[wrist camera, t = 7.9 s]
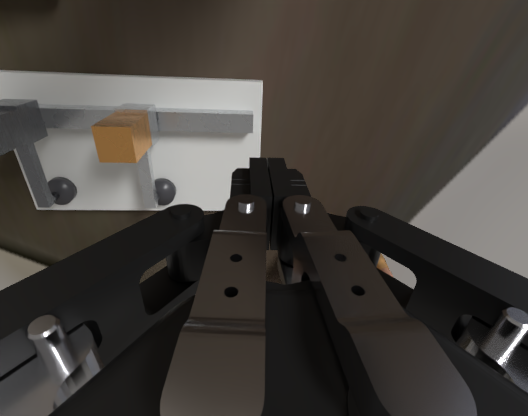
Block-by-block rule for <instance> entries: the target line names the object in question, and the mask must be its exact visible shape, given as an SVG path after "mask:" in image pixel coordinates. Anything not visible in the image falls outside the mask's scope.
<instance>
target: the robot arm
mask: <svg viewBox="0 0 528 416" xmlns="http://www.w3.org/2000/svg"><path fill="white" fill-rule="evenodd" d="M269 241H270V250H278V260H277V267H278V271H279V275H280V279H281V283H282V284H279V283H273V282H268V281H266V250H269ZM381 253H382V254H384V255H386V256H387V257H389V258H391V259H393V260H395V261H396V262H398V263H400V264H402V265H404V266H405V267H407V268H409V269H410V270H411V271H412V272H413V273H414V274H415V276H416V280H417V283H416V286H415V288H414V289H412V288H410V287H408V286H407V285H405V284H403V283H401V282H400V281H398V280H397V279H395V278H393V277H392V276H390V275H388V274H387V273H385V272H383V271H382V270H380V269H378V268H377V264H378V261H379V257H380V254H381ZM164 258H166V261H167V266H166V267H164V268H163V269H161V270H160V271H158V272H157V273H155V274H154V275H152V276H151V277H149V278H148V279H146V280H145V281H143V282H142V283H141V284H139V282H140V278H141V276H142V275H143V273H144V272H145V271H146V270H147V269H149V268H150V267H152V266H153V265H155V264H156V263H158V262H160V261H161V260H163V259H164ZM195 294H196V295H195ZM0 416H528V279H527V278H525V277H523V276H521V275H519V274H517V273H514V272H512V271H510V270H508V269H506V268H504V267H501V266H499V265H497V264H495V263H493V262H491V261H488V260H486V259H484V258H482V257H480V256H477V255H475V254H473V253H471V252H469V251H467V250H465V249H462V248H460V247H458V246H456V245H454V244H452V243H449V242H447V241H445V240H443V239H440V238H439V237H436V236H434V235H432V234H430V233H428V232H425V231H423V230H421V229H419V228H417V227H415V226H413V225H410V224H408V223H406V222H404V221H402V220H400V219H397V218H395V217H393V216H391V215H389V214H387V213H384V212H382V211H380V210H378V209H375V208H372V207H366V206H356V207H352V208H350V209H349V210H348V211H347V215H346V217H343V216H338V215H333V214H329V213H327V212H326V210H325V209H324V207H323V205H322V204H321V202H320V201H318V200H317V199H315V198H312V197H311V195H310V193H309V190H308V188H307V186H306V183H305V181H304V178H303V175H302V174H301V173H300V172H299V171H297V170H296V169H287V167H286V164H285V160H284V158H267V161H266V158H256V157H249V168H237V169H236V170H235V171H234V172H232V178H231V190H230V199H228V200H227V202H226V205H225V209H224V210H222V211H220V212H217V213H214V214H209V215H204V212H203V210H202V209H201V208H200V207H198V206H195V205H191V204H178V205H173V206H170V207H168V208H166V209H164V210H162V211H160V212H158V213H156V214H154V215H152V216H150V217H148V218H146V219H144V220H142V221H140V222H138V223H136V224H134V225H132V226H130V227H127V228H125V229H123V230H121V231H119V232H117V233H115V234H113V235H111V236H109V237H107V238H105V239H103V240H101V241H99V242H97V243H95V244H93V245H91V246H89V247H87V248H85V249H83V250H81V251H79V252H77V253H75V254H73V255H71V256H69V257H67V258H65V259H63V260H61V261H59V262H57V263H55V264H53V265H51V266H49V267H47V268H45V269H43V270H41V271H39V272H37V273H35V274H33V275H31V276H29V277H27V278H25V279H23V280H21V281H19V282H17V283H15V284H13V285H11V286H9V287H7V288H5V289H3V290H1V291H0Z"/></svg>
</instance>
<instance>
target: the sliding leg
mask: <svg viewBox="0 0 528 416" xmlns="http://www.w3.org/2000/svg"><path fill="white" fill-rule="evenodd" d="M91 129H92V133H93V138H94V142H95V146H96V150H97V154H98V158H99V162H102V163H137V165H138V171H139V177H140V182H141V188H142V193H143V199H144V205H145V208H156V207H157V205H158V200H159V198H160V195H159V194H158V193H156V187H155V180H154V174H153V167H152V161H151V154H150V147H153V146H154V145H155V144H156V143H157V142H158V140H159V132H158V124H157V117H156V109H155V104H134V103H124V104H122V105H120V106H118V107H116V108H115V109H114V113H112V114H111V115H109V116H107V117H106V118H104V119H102V120H101V121H99V122H97V123H95V124H94V125H92V126H91Z"/></svg>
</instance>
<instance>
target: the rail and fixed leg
mask: <svg viewBox="0 0 528 416" xmlns="http://www.w3.org/2000/svg"><path fill="white" fill-rule="evenodd" d="M116 107H118V106H91V105H59V104H38V102H37V100H28V99H2V100H0V156H1V155H3V154H5V153H7V152H9V151H11V150H13V149H15V148H16V150H17V153H18V156H19V158H20V161H21V164H22V166H23V169H24V171H25V174H26V177H27V179H28V182H29V184H30V187H31V190H32V192H33V195H34V197H35V200H36V203H37V205H38V207H41V208H50V207H51V206H52V205H53V204H54V202H56V201H57V200H58V199H59V198H60V195H59V194H58V193H57V192H51V191H50V188H49V186H48V183H47V180H46V177H45V174H44V171H43V168H42V165H41V163H40V160H39V157H38V154H37V151H36V148H35V145H34V143H35V142H37V141H39V140H41V139H43V138H45V137H47V136H48V133H47V130H46V128H64V129H91V126H92V125H94V124H95V123H97V122H99V121H101V120H102V119H104V118H106V117H107V116H109V115H111V114H112V113H114V109H115V108H116ZM155 109H156V117H157V124H158V131H183V132H223V133H253V111H252V110H220V109H187V108H155Z"/></svg>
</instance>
